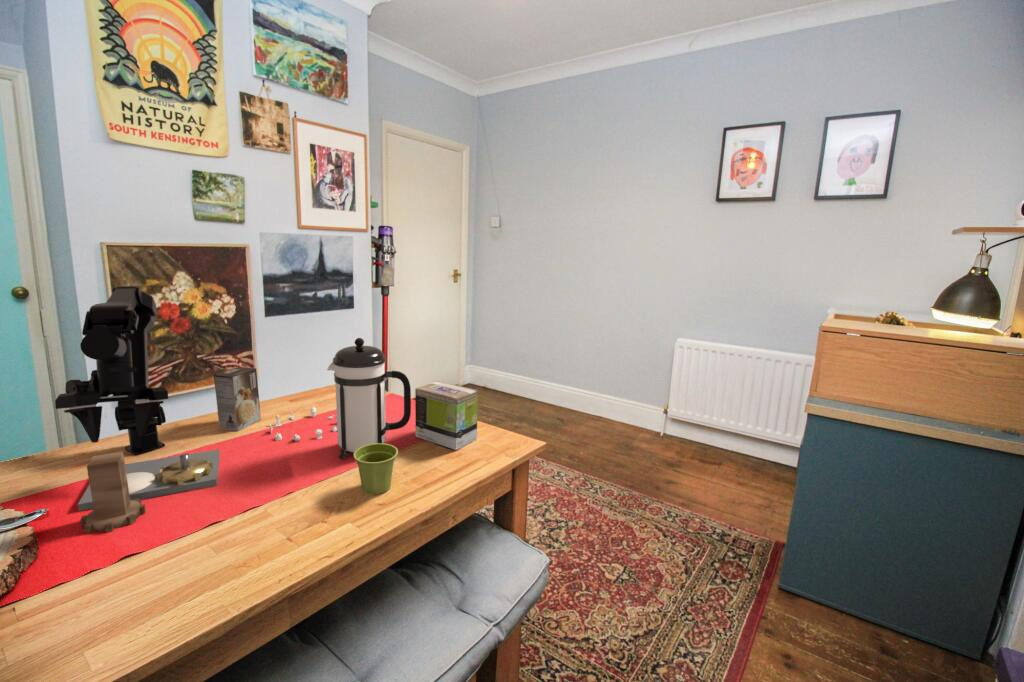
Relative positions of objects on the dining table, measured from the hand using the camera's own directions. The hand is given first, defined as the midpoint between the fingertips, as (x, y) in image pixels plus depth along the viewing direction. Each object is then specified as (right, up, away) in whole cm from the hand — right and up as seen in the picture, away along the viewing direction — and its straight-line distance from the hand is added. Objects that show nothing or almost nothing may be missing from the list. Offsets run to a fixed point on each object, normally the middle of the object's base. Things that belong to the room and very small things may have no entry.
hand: (119, 438), depth 97 cm
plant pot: (+51, -13, +8) cm, 53 cm away
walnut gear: (+5, -14, -7) cm, 16 cm away
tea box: (+63, -7, +35) cm, 73 cm away
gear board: (+3, -11, +7) cm, 13 cm away
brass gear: (+9, -9, +7) cm, 15 cm away
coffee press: (+43, -8, +27) cm, 52 cm away
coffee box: (+3, -4, +39) cm, 39 cm away
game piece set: (+22, -5, +38) cm, 44 cm away
